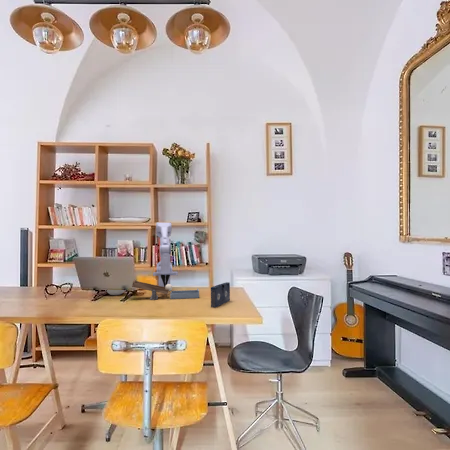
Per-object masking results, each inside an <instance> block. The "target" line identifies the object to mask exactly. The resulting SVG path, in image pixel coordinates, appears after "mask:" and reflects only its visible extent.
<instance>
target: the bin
mask: <svg viewBox="0 0 450 450" xmlns="http://www.w3.org/2000/svg"><path fill="white" fill-rule="evenodd" d="M169 292H170V294H169V295H170V300H184V299H189V300H190V299H200V289H199V288H198V287H197V288H196V289H189V290H171V291H169Z"/></svg>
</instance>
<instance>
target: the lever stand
mask: <svg viewBox="0 0 450 450" xmlns="http://www.w3.org/2000/svg"><path fill="white" fill-rule="evenodd" d="M158 299H159V295H158V294H157V292H156V289H153V290H152V291H151V295H150V298H149V301H157V300H158Z"/></svg>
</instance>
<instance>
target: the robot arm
mask: <svg viewBox="0 0 450 450" xmlns="http://www.w3.org/2000/svg"><path fill="white" fill-rule="evenodd" d="M155 224H156V225H155V228H156V229H155V231H156V236H157V237H158V238H159V242H160V243H159V255H160V256H159V257H160V261H159V262H157V263H156V271H154V272H152V276H153V277H156V276H157V277H158V286H163V287H165V286H166V285H167V284H171V276H178V274H179V272H178V271H173V264H172V262H171V253H172V245H171V241H170V237H171V235H172V222H158V221H157V222H156V223H155Z"/></svg>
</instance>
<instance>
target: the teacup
mask: <svg viewBox="0 0 450 450" xmlns="http://www.w3.org/2000/svg"><path fill="white" fill-rule="evenodd" d="M106 292H107V294H109V295H110V296H120V295H122V294H123V293H124V292H125V290H107V291H106Z"/></svg>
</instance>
